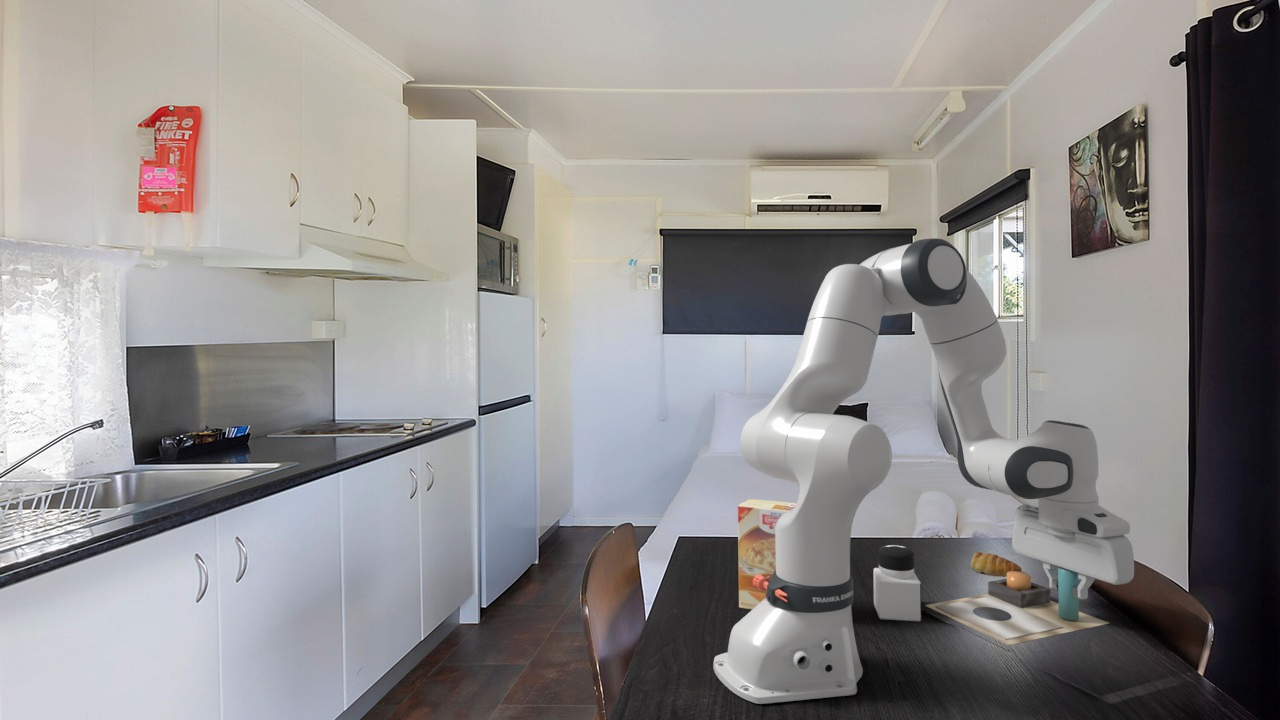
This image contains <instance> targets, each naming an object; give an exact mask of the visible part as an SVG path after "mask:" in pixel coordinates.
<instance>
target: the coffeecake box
mask: <svg viewBox="0 0 1280 720" xmlns="http://www.w3.org/2000/svg"><path fill="white" fill-rule="evenodd" d="M796 504H797V502H786V501H774V500H768V499H767V500H765V499H756V498H755V499H754V498H747V500H745V501H744V502H741V503H739V504H738V505H737V536H738V537H737V539H738V540H737V541H738V542H737V548H738V549H737V550H738V553H737V554H738V607H739V608H741V609H747V610H752V609H754V608H755V607H756V606H757V605H758V604H759V603H760V602H761V601H762V600H763V599H764V598H765V597H766V592H767V590H765V591H761V590H760V589H759V588H756V587H755V586H754V585H753V584H754V583H753V581H754V580H753V578H755V576H756V575H762V576H763V577H764V578H767V579H768V580H769V582H770V580H771V577H772V575H773V573H774V571H775V570H776V554H775V527H776V523H777V521H778V519H779V518H780V517H781V516H782V515H783V514H784V513H786V512H787V511H789V510H791V509H793V508H795V506H796Z"/></svg>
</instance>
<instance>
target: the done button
mask: <svg viewBox="0 0 1280 720" xmlns="http://www.w3.org/2000/svg"><path fill="white" fill-rule="evenodd" d="M1006 579H1007V586H1008V587H1010V588H1013V589H1015V590H1018V591H1025V590H1031V582H1032V575H1030V574H1029V573H1026V572H1023V571H1021V572H1017V571H1010V572H1007V577H1006Z"/></svg>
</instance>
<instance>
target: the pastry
mask: <svg viewBox="0 0 1280 720" xmlns="http://www.w3.org/2000/svg"><path fill="white" fill-rule="evenodd" d="M970 569H972V570H973V571H974V572H976V573H979V574H981V573H983V574H985V575H988V576H995V577H1000V578H1007V572H1010V571H1017V572H1022V569H1023V568H1022V567H1021V566H1020V565H1018V564H1017V563H1015V562H1013V561H1011V560H1009V559H1007V558H1004V557H1001V556H999V555H998V554H995V553H994V554H992V553H988V552H985V553H983V552H980V551H976V552H974V553H973V556H972V558H971V561H970ZM1001 576H1002V577H1001Z"/></svg>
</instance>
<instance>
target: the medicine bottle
mask: <svg viewBox="0 0 1280 720" xmlns="http://www.w3.org/2000/svg"><path fill="white" fill-rule="evenodd" d="M873 605H874V608H875V610H876V612H877V616H878V618H879V619H880V620H888V621H889V620H891V621H903V622H904V621H905V622H921V621H922V582H921V580H919V578H918V575H916V573H915V553H914V552H913V550H912V549H910V548H908V547H906V546H903V545H895V544H892V545H884V546H882V547H880V548H879V549H878V567H874V568H873Z"/></svg>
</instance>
